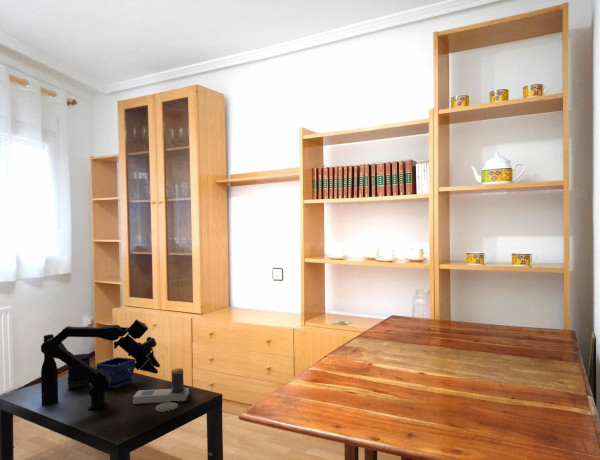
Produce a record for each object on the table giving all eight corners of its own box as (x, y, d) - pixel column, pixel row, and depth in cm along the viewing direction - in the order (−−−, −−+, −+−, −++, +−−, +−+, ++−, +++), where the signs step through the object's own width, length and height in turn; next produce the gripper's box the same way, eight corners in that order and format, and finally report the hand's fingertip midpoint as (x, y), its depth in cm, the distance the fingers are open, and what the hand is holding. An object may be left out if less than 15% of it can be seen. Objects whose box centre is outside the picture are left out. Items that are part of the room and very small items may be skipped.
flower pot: (95, 388, 210) (95, 363, 211) (117, 379, 223) (117, 356, 223) (115, 391, 205) (115, 366, 205) (137, 382, 217) (136, 358, 217)
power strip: (185, 401, 190) (185, 393, 190) (132, 403, 188) (132, 396, 188) (188, 394, 198) (188, 387, 198) (138, 397, 196) (138, 390, 196)
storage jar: (94, 383, 217) (93, 353, 217) (82, 390, 207) (81, 359, 207) (76, 383, 218) (75, 353, 218) (63, 390, 208) (62, 359, 209)
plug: (183, 400, 191) (182, 371, 191) (170, 400, 191) (169, 372, 191) (185, 395, 197) (184, 367, 197) (173, 396, 196) (172, 368, 196)
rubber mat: (175, 411, 179) (175, 409, 179) (153, 412, 178) (153, 411, 178) (179, 403, 188) (179, 401, 188) (158, 404, 187) (158, 402, 187)
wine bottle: (61, 400, 196) (59, 333, 196) (53, 405, 189) (52, 336, 190) (46, 400, 195) (45, 334, 196) (38, 406, 189) (37, 337, 189)
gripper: (142, 337, 182) (170, 361, 184) (147, 328, 200) (172, 350, 202) (122, 358, 180) (151, 381, 182) (129, 347, 198) (155, 368, 201)
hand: (158, 369), depth 192 cm, fingers open, 9 cm apart
